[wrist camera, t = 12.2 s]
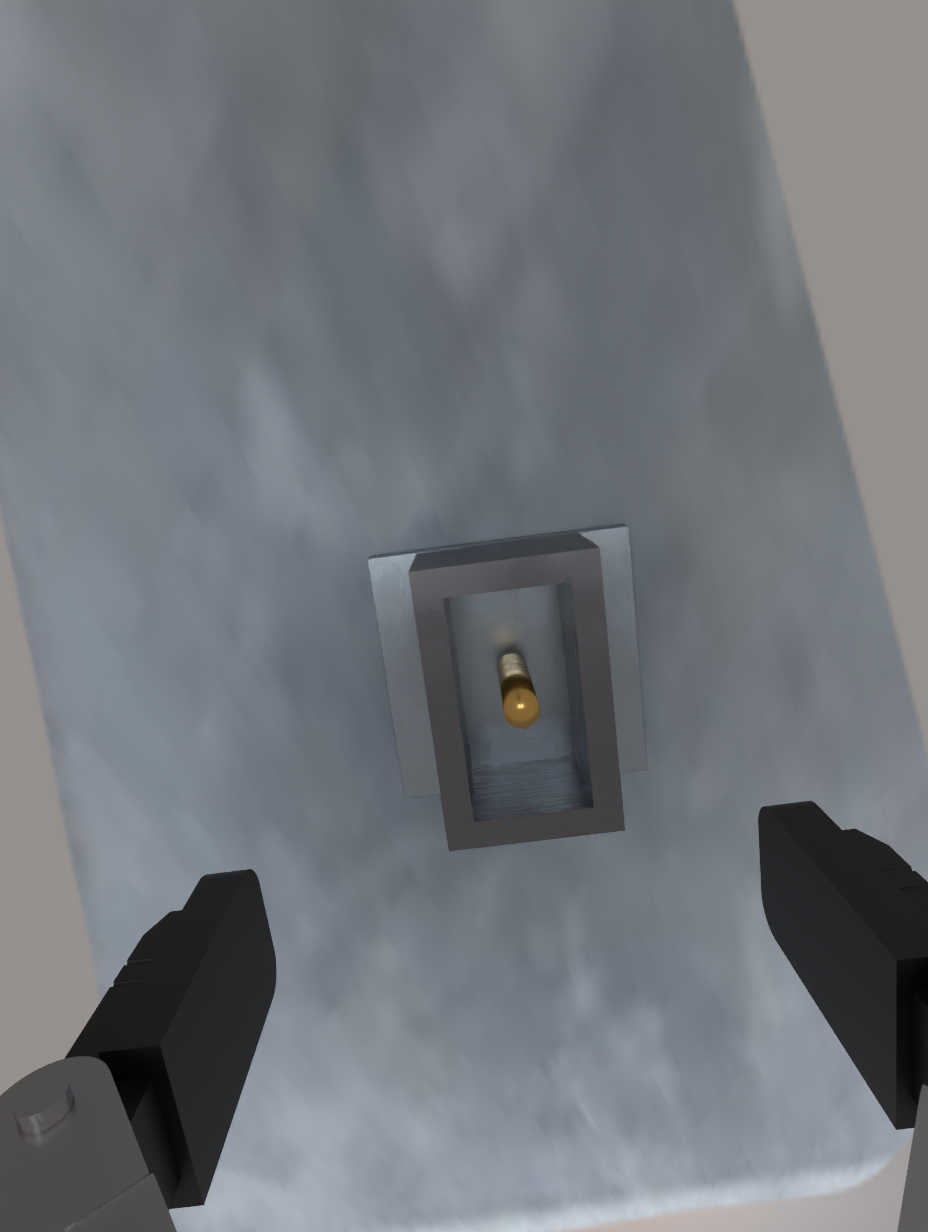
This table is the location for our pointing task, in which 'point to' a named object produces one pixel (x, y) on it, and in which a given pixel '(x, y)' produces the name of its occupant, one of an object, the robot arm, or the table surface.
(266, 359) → the table surface
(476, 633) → the peg plate
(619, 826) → the grey storage bin
